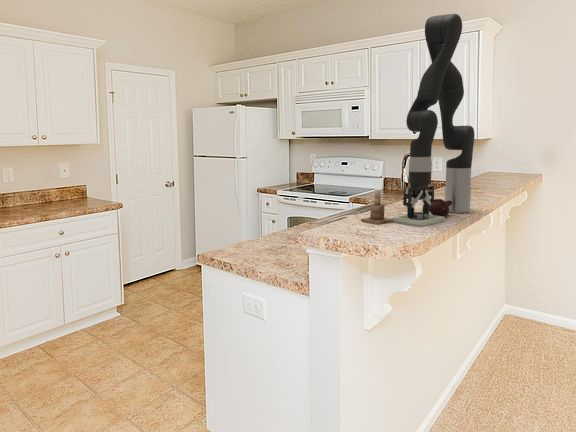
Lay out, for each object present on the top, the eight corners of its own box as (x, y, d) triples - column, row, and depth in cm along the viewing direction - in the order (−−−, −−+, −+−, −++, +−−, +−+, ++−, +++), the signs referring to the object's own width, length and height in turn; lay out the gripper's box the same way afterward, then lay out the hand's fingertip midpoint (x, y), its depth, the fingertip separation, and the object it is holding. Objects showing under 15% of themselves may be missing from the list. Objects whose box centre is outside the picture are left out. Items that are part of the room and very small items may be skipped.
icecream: (437, 202, 163) (461, 202, 172) (421, 195, 168) (444, 195, 177) (431, 221, 165) (455, 219, 174) (415, 213, 170) (438, 212, 179)
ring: (433, 220, 160) (433, 213, 159) (422, 223, 156) (422, 215, 156) (414, 217, 166) (414, 211, 166) (403, 219, 162) (403, 212, 162)
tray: (416, 217, 170) (416, 212, 170) (444, 221, 161) (444, 216, 161) (392, 222, 162) (392, 217, 161) (420, 226, 153) (420, 221, 152)
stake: (376, 218, 169) (376, 188, 167) (393, 221, 162) (394, 190, 161) (360, 221, 164) (361, 190, 162) (378, 224, 158) (379, 192, 156)
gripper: (416, 171, 151) (414, 220, 154) (441, 169, 160) (439, 215, 163) (397, 170, 157) (396, 217, 160) (423, 168, 166) (421, 213, 168)
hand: (418, 216), depth 161 cm, fingers open, 8 cm apart
